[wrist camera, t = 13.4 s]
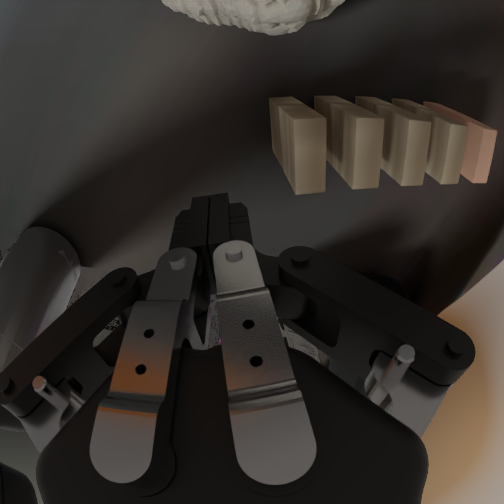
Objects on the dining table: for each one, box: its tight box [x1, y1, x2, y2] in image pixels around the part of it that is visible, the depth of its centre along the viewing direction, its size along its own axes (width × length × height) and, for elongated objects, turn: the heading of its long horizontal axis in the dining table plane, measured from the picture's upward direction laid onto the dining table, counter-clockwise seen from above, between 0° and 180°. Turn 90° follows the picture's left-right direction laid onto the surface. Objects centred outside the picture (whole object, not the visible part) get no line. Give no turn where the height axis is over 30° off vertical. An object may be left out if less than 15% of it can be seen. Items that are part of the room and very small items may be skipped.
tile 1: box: [269, 96, 326, 195], centre depth 21 cm, size 2×5×9 cm, turn 5°
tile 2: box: [314, 96, 384, 189], centre depth 21 cm, size 2×5×9 cm, turn 5°
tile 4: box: [392, 98, 468, 184], centre depth 21 cm, size 2×5×9 cm, turn 5°
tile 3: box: [355, 96, 432, 186], centre depth 21 cm, size 2×5×9 cm, turn 5°
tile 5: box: [423, 101, 497, 183], centre depth 21 cm, size 2×5×9 cm, turn 5°
